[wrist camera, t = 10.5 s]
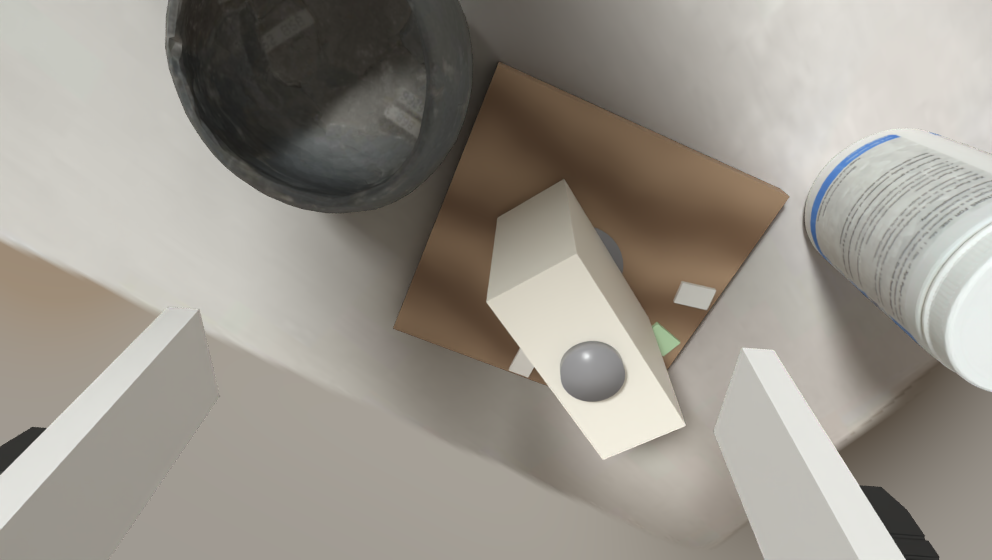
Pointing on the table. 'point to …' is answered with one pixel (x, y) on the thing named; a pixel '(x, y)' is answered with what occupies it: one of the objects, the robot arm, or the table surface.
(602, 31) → the table surface
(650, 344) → the white block with knob
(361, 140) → the bowl
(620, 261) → the board
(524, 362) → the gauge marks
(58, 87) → the table surface
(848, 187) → the supplement tub
